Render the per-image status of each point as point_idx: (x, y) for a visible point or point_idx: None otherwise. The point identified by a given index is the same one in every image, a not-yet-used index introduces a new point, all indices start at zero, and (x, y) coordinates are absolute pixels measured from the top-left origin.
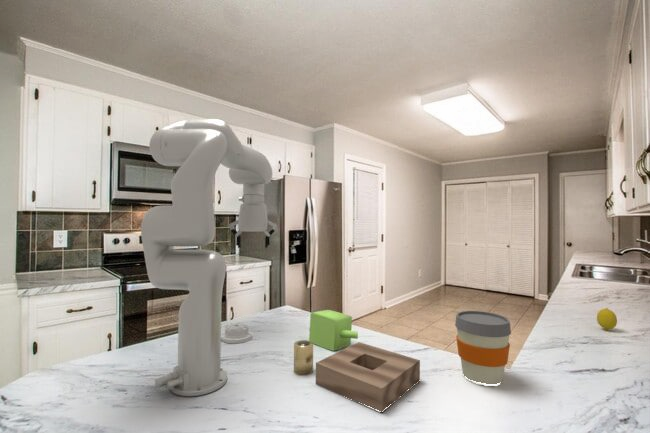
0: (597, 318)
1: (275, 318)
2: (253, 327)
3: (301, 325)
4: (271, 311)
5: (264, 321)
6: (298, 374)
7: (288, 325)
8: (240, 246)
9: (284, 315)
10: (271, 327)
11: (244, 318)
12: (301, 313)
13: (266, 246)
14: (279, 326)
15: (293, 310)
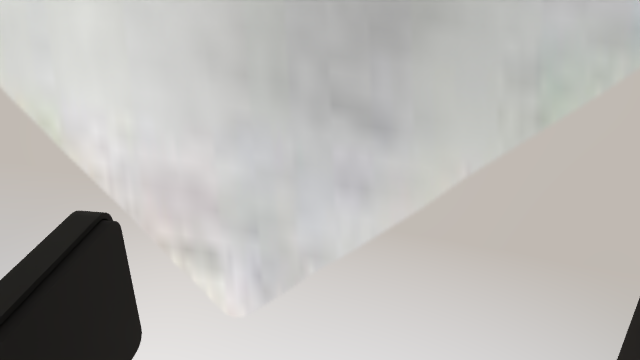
0: None
1: (275, 155)
2: (382, 24)
3: (137, 23)
4: (301, 265)
5: (328, 116)
6: None
7: (202, 32)
8: (633, 341)
9: (234, 195)
10: (287, 11)
11: (433, 180)
12: (155, 212)
13: (80, 216)
14: (247, 22)
15: (197, 262)
